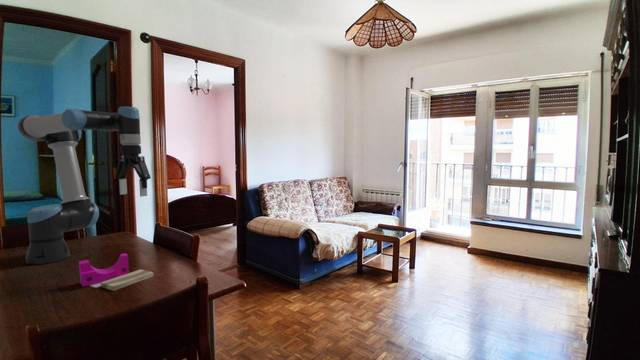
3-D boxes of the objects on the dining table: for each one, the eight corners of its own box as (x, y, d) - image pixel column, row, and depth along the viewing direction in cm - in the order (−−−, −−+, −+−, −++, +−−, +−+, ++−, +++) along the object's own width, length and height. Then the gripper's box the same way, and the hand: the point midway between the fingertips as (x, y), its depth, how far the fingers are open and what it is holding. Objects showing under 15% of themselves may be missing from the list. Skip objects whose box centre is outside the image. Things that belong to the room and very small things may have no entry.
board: (100, 286, 119) (100, 282, 118) (140, 272, 132) (140, 269, 132) (113, 290, 115) (113, 286, 115) (153, 276, 128) (153, 272, 128)
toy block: (82, 286, 118) (81, 265, 117) (80, 281, 122) (78, 261, 122) (130, 276, 128) (129, 256, 127) (126, 271, 132) (125, 253, 132)
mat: (79, 282, 122) (79, 282, 122) (115, 271, 134) (115, 270, 134) (95, 288, 118) (95, 287, 117) (131, 275, 129) (131, 274, 129)
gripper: (103, 144, 144) (106, 194, 146) (141, 144, 132) (144, 198, 134) (121, 145, 150) (124, 192, 152) (158, 144, 139) (160, 195, 140)
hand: (133, 195), depth 143 cm, fingers open, 13 cm apart
